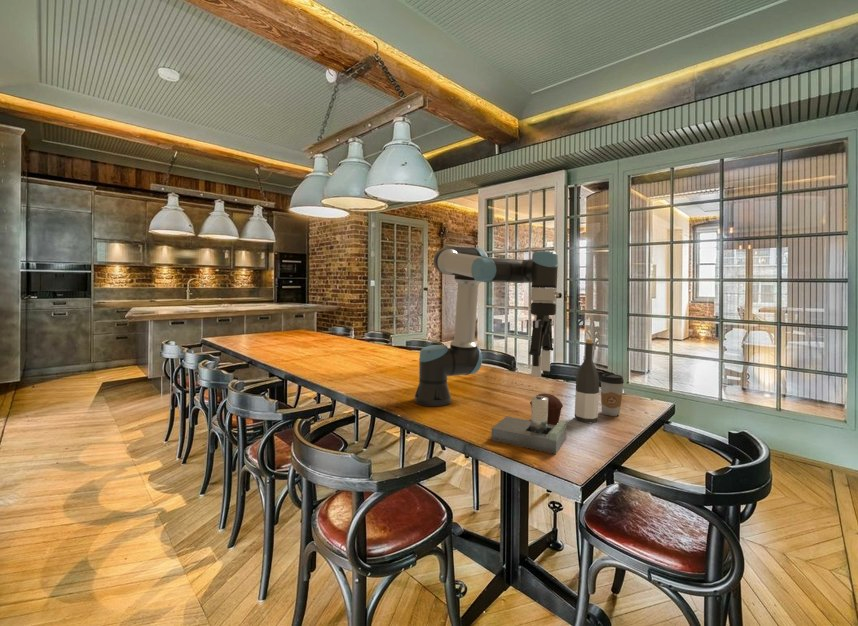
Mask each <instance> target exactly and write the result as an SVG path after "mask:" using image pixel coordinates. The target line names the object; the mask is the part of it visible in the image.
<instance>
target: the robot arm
mask: <svg viewBox="0 0 858 626" xmlns="http://www.w3.org/2000/svg"><path fill="white" fill-rule="evenodd" d="M558 258H559V257H558V253H557V252H556V251H552V250H551V251H550V250H538V251H534V252H532V257H531V259H515V258H514V259H513V258H497V257H496V258H494V257H489V256H488V254H487V252H486V250H484V249H482V248H480V247H479V248H478V247H474V246H472V247H471V246H470V247H468V246H451V245H449V246H443V247H442V248H440V249H438V250H436V252H435V254H434V257H433V258H432V259H433V266H434V268H435V269H436V271H438V272H439V273H441V274H442V275H450V276H454V281H455V282H456V283H457V290H456V291H457V292H456V306H455V321H454V322H455V323H454V339H453V340H452V341H451V342H450V343H449V344H450V347H448V345H446V344H434V345H432V344H431V345H426V346H424V347H422V348H421V349H420V352H419V359H418V361H419V368H418V369H419V371H418V373H419V376H418V385H417V389H416V390H415V394H414V402H415V404H417V405H419V406H425V407H443V406H448V405H449V404H451V403H452V396H451V394H450V393H451V392H450V389H449V385H448V377H451V376H452V377H453V376H469V375H473V374H474V375H475V374H476V373H478V371H480V369H481V367H482V364H483V355H482V353H483V352H482V351H481V348H479V347H478V343H477V342H476V341H475V335H476V321H477V307H478V296H479V293H478V291H479V284H480V283H516V284H530V283H531V287H530V288H531V290H530V301H532V302H531V303H530V314H531V315H532V316H533V315H534V316H536V318H535V320H533V321H532V331H531V338H530V339H531V340H530V348H529V351H528V354H529V356H531V377H533V378H542V371H543V372H550V371H551V351H554V347H553V318H550V316H556V314H557V304H556V303H555V302H556V301H557V296H558V295H559V291H557V285H558V272H559V271H558V268H559V260H558Z"/></svg>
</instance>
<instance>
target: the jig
mask: <svg viewBox="0 0 858 626" xmlns="http://www.w3.org/2000/svg"><path fill="white" fill-rule="evenodd" d="M567 424H568V421H567V420H563V419H561V420H560V419H559V422H558V424H557V425H551V424H547V435H546V434H541V433H535V432H530V431H531V420H529V419H523V418H518V417H511V416H505V417H504V418H502V419H501V420H499V422H497V423H496V424H495V425H494V426H493V427H491V430H490V431H491V433H490V435H491V436H490V440H492V441H491V442H496V441H497V443H500V442H502V444H505V443H507V444H506V445H510V444H512V445H511V446H514V445H517V446H516V447H519V446H522V447H521V448H523V447H527V448H526V449H528V448H531V449H530V450H533V449H535V450H534V451H537V450H540V451H539V452H542V451H545V452H544V453H547V452H548V454H551V453H553V454H552V455H557V454H558V453H559V451H560V449H561V448H560V447H562V446H563V445H564V443H565V442H566V440H567V426H568V425H567ZM558 450H559V451H558ZM556 453H557V454H556Z"/></svg>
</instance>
